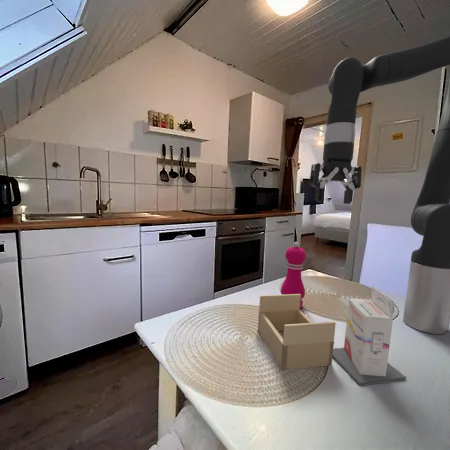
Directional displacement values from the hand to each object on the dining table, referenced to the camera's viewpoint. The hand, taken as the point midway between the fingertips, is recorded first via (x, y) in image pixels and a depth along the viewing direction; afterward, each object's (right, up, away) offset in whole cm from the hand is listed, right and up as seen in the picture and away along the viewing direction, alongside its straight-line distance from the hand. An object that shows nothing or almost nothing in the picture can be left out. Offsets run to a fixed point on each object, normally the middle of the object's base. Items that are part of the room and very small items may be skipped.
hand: (333, 203), depth 70 cm
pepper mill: (-9, -31, +8) cm, 34 cm away
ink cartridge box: (-2, -34, -19) cm, 39 cm away
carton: (-15, -33, -13) cm, 39 cm away
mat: (-2, -34, -19) cm, 39 cm away
